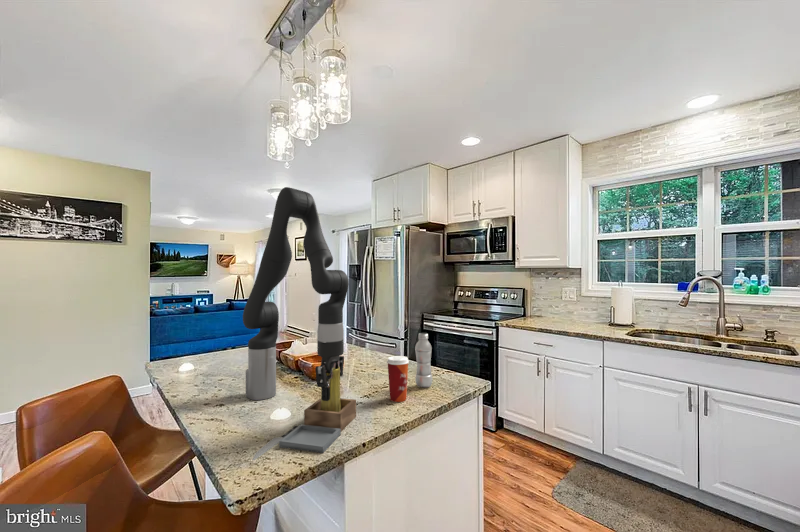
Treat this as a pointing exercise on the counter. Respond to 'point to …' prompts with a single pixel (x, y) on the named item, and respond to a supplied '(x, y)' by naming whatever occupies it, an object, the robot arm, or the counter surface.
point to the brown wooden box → (331, 415)
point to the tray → (310, 438)
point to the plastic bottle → (423, 361)
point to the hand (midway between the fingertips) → (330, 396)
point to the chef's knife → (271, 444)
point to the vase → (333, 393)
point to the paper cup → (398, 377)
